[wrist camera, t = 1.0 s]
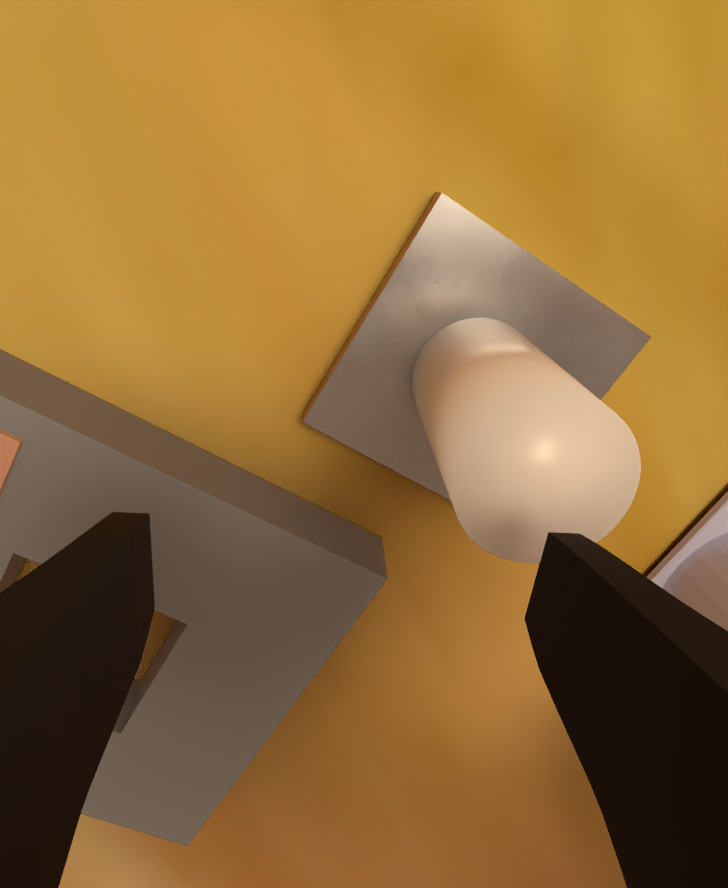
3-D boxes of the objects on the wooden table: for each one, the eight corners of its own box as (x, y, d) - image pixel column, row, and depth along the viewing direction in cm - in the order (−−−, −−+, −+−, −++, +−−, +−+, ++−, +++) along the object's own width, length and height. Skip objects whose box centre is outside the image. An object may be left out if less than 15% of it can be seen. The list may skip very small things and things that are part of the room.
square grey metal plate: (635, 329, 20) (651, 337, 19) (492, 511, 22) (499, 526, 21) (436, 191, 17) (442, 192, 17) (304, 411, 20) (302, 422, 19)
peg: (561, 358, 19) (680, 453, 12) (487, 457, 20) (559, 589, 14) (459, 292, 18) (530, 358, 11) (387, 401, 19) (415, 515, 13)
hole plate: (381, 537, 22) (387, 582, 20) (199, 790, 28) (186, 850, 25) (-57, 321, 18) (-117, 344, 16) (-174, 666, 24) (-232, 723, 21)
